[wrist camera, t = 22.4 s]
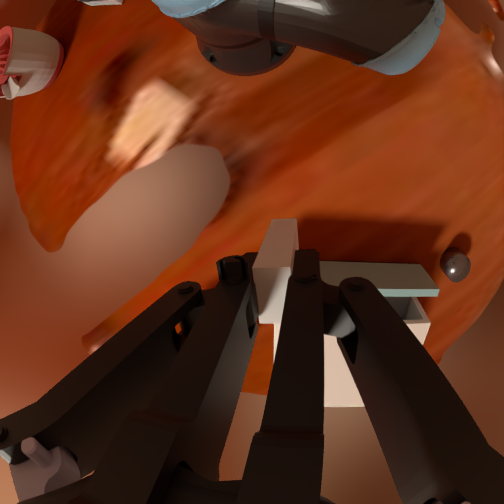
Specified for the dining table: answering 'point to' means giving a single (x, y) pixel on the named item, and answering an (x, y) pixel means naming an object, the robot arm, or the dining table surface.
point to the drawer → (384, 280)
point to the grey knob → (455, 264)
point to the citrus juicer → (27, 61)
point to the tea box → (101, 2)
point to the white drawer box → (336, 370)
